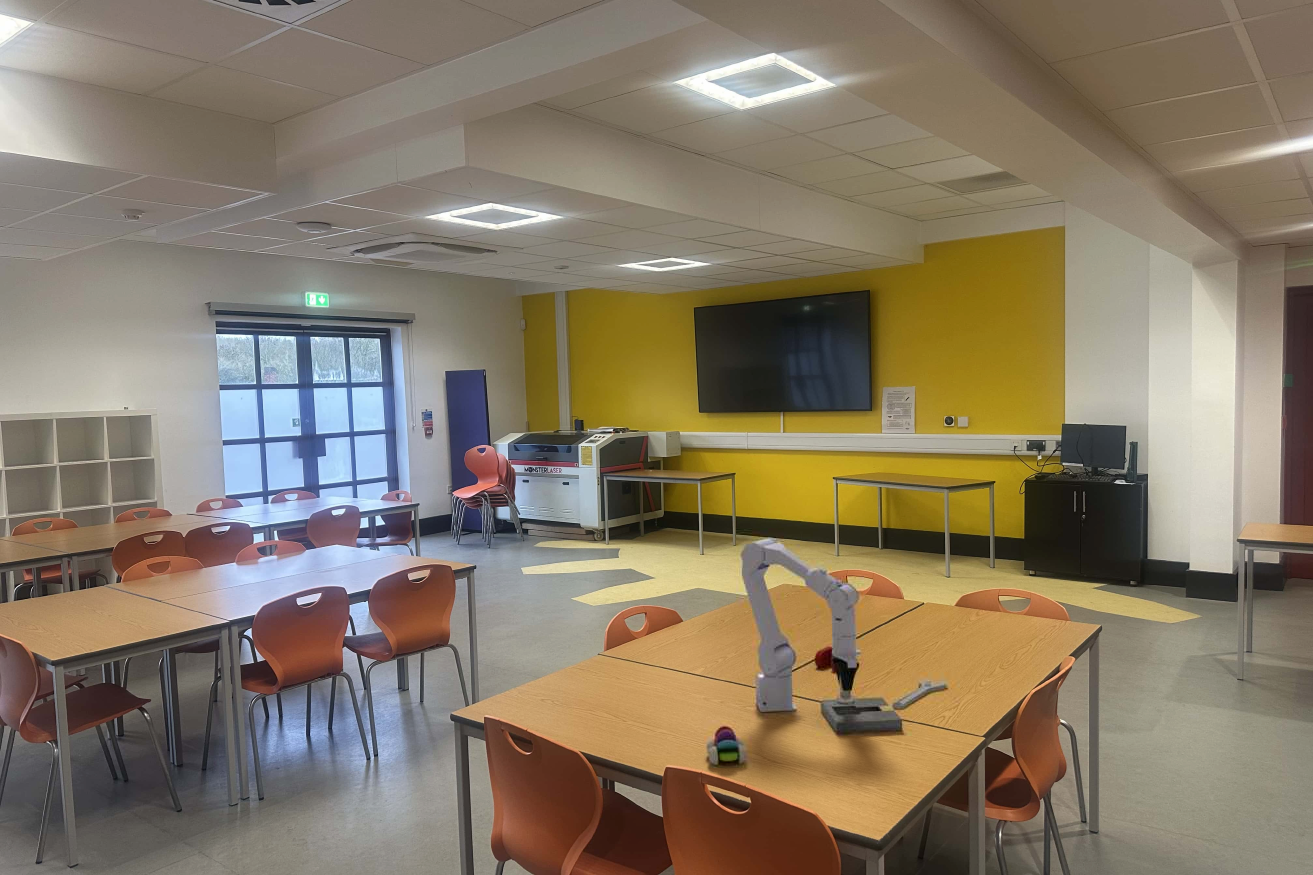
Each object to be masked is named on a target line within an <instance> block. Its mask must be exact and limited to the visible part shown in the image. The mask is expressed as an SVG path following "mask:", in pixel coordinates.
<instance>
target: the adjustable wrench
mask: <svg viewBox="0 0 1313 875" xmlns="http://www.w3.org/2000/svg"><path fill="white" fill-rule="evenodd" d="M946 689H947V681H945V680H943V679H940V682H932V681H931V679H930V678H928V679H923V680H921V681H919V682H918V688H917V689H915V690H913V691H911V692H910V693H908V694H906V695H904V696H903V697H901V698H899V699H897V700H895V701H893V702H892V703H891V704H892V709H893V710H902V709H905V708H906V707H907V706H909V705H911V704H913V703H914V702H916V701H918V700H919V699H921V698H922V697H924V696H925V695H927V694H929V693H932V692H937V691H944V690H946Z"/></svg>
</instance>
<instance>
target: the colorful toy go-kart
mask: <svg viewBox="0 0 1313 875" xmlns="http://www.w3.org/2000/svg"><path fill="white" fill-rule="evenodd" d="M706 750H707V751H706V753H707V755H708V761H709V762H710V763H711V764H712V765H715V766H718V765H719V760H720V761H723V762H732V761H736V760H738V761H737V762H738V764H743V763H745V762H746V760H747V759H748V751H747V748H746V747H745V742H744V741H743V740H742V739H741V738H739V737H737V736H736V733H735V731H734V730H733V728H731V727H729V726H727V725H722V726H720V727H718V728H717V730H716V731H715V733H714V738H712V739H710V740H708V741H707V743H706Z"/></svg>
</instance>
